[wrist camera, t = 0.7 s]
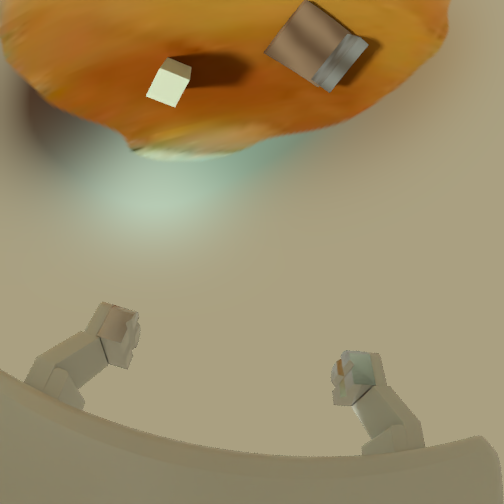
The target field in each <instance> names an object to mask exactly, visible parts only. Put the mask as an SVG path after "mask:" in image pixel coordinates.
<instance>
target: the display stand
mask: <svg viewBox="0 0 504 504" xmlns="http://www.w3.org/2000/svg"><path fill="white" fill-rule="evenodd" d="M367 46H368V44H367V43H366V42H365V41H364V40H363V39H362V38H360V37H358V36H354V35H352V34H351V33H350V32H349V31H348V30H346V29H345V28H344V27H343V26H341V25H340V24H339V23H338V22H336V21H335V20H334V19H333V18H331V17H330V16H329V15H327V14H326V13H325V12H323V11H322V10H320V9H319V8H318V7H316V6H315V5H313V4H312V3H311V2H309V1H308V0H304V1H303V2H302V4H301V5H300V6H299V7H298V8H297V10H296V11H295V12H294V13H293V15H292V16H291V17H290V18H289V20H288V21H287V22H286V24H285V25H284V26H283V27H282V29H281V30H280V31H279V33H278V34H277V35H276V37H275V38H274V39H273V41H272V42H271V43H270V45H269V46H268V47H267V49H266V50H265V51H264V53H265V54H266V55H268V56H270V57H271V58H273V59H275V60H276V61H278V62H280V63H281V64H283V65H285V66H286V67H288V68H289V69H291V70H293V71H294V72H296V73H297V74H299V75H300V76H302V77H303V78H305V79H306V80H308V81H309V82H311V83H312V84H314V85H315V86H317V87H319V86H321V87H322V88H324V89H325V90H326V91H328V92H329V93H330V92H331V91H332V89H333V88H334V87H335V86H336V84H337V83H338V82H339V81H340V79H341V78H342V77H343V76H344V74H345V73H346V72H347V71H348V69H349V68H350V67H351V66H352V65H353V63H354V62H355V61H356V60H357V58H358V57H359V56H360V55H361V54H362V52H363V51H364V50H365V49H366V48H367Z"/></svg>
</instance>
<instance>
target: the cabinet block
mask: <svg viewBox="0 0 504 504" xmlns="http://www.w3.org/2000/svg"><path fill="white" fill-rule="evenodd" d="M191 69H192V67H190V66H188V65H185V64H183V63H181V62H178V61H176V60H173V59H171V58H168V57H167V59H166V60H165V62H164V63H163V64H162V66H161V67H160V69H159V71H158V73H157V75H156V77H155V79H154V81H153V83H152V85H151V87H150V89H149V91H148V93H147V95H146V96H147V97H149V98H152V99H155V100H157V101H160V102H162V103H165V104H168V105H170V106H173V107H175V106H176V104H177V102H178V100H179V99H180V97H181V95H182V93H183V91H184V90H185V88H186V86H187V84H188V82H189V81H190V76H191Z"/></svg>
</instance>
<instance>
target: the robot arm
mask: <svg viewBox="0 0 504 504" xmlns="http://www.w3.org/2000/svg"><path fill="white" fill-rule="evenodd" d="M138 319H139V315H138V312H136V311H132V310H129V309H126V308H122V307H119V306H116V305H113V304H109V303H106V302H102V303H100V304H99V306H98V308H97V310H96V311H95V313H94V315H93V317H92V318H91V320H90V322H89V324H88V326H87V328H86V329H85V331H84V332H82V331H80V332H78V333H77V334H75V335H73V336H72V337H70V338H68V339H66V340H65V341H63V342H62V343H60V344H58V345H56V346H55V347H53V348H51V349H49V350H48V351H46V352H44V353H43V354H41V355H39V356H38V357H37V358H36V360H35V362H34V364H33V366H32V367H31V369H30V371H29V374H28V375H27V377H26V379H25V381H24V382H22V381H20V380H18V379H17V378H15V377H13V376H11V375H10V374H8V373H6V372H5V371H3V370H1V369H0V504H503V485H502V475H501V467H500V461H499V458H498V454H497V452H496V451H495V450H494V448H493V447H492V446H491V445H490V444H489V442H488V441H487V440H486V439H485V438H484V437H482V436H473V437H470V438H466V439H462V440H458V441H454V442H450V443H445V444H441V445H436V446H431V447H425V444H424V438H423V433H422V428H421V423H420V421H419V420H418V419H417V418H416V416H415V415H414V414H413V413H412V412H411V411H410V409H409V408H408V407H407V406H406V404H405V403H404V402H403V401H402V400H401V399H400V397H399V396H398V395H397V394H396V393H395V392H394V390H393V389H392V388H391V387H390V386H387V383H386V379H385V374H384V370H383V366H382V361H381V357H380V355H379V354H378V353H368V352H360V351H348V350H346V351H344V352H343V353H342V354H341V359H340V360H338V361H337V362H336V363H335V364H334V366H333V369H332V373H331V381H332V383H333V385H334V386H335V388H334V390H333V391H332V392H333V401H334V405H341V406H352V409H353V410H354V412H355V414H356V415H357V417H358V418H359V420H360V422H361V423H362V424H363V426H364V428H365V429H366V431H367V433H368V434H369V436H370V437H371V439H372V440H370V441H369V442H367V443H366V444H364V445H363V446H362V455H361V456H360V455H359V456H335V457H307V456H283V455H268V454H258V453H249V452H240V451H233V450H226V449H219V448H213V447H208V446H202V445H197V444H192V443H187V442H182V441H178V440H174V439H170V438H166V437H162V436H158V435H154V434H151V433H147V432H144V431H139V430H137V429H134V428H130V427H127V426H124V425H121V424H118V423H115V422H112V421H109V420H107V419H104V418H101V417H98V416H96V415H93V414H91V413H88V412H85V411H83V410H82V409H83V407H84V404H85V400H84V398H83V397H82V395H81V394H80V392H79V391H78V389H79V388H80V387H82V386H83V385H84V384H85V383H86V382H88V381H89V380H90V379H92V378H93V377H94V376H95V375H97V374H98V373H99V372H100V371H102V370H103V369H104V368H105V367H106V366H108V364H111V365H114V366H117V367H121V368H124V369H128V367H129V365H130V362H131V360H132V357H133V354H132V350H133V349H134V348H136V347H137V344H138V341H139V337H140V325H139V324H138V322H137V321H138Z"/></svg>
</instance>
